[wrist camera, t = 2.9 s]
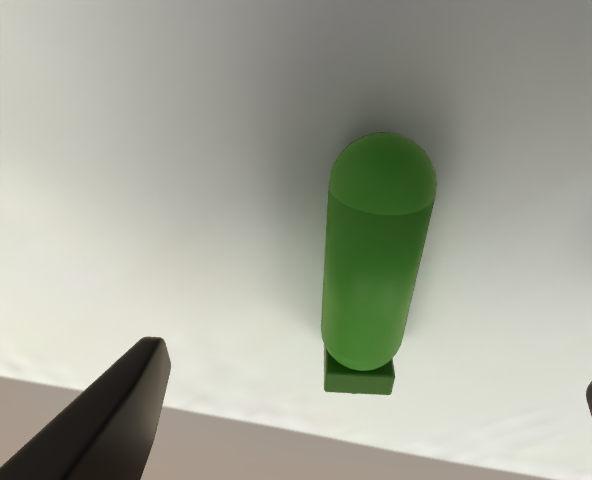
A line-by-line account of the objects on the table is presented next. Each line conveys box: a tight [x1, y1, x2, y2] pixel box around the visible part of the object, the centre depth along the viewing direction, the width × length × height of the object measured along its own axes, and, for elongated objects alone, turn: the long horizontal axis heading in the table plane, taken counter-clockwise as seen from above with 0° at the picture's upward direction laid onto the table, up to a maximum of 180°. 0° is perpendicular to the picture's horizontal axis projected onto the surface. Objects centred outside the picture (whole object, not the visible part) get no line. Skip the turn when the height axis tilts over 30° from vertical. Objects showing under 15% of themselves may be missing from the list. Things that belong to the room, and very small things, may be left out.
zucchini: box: [321, 133, 437, 395], centre depth 10 cm, size 8×2×2 cm, turn 0°
